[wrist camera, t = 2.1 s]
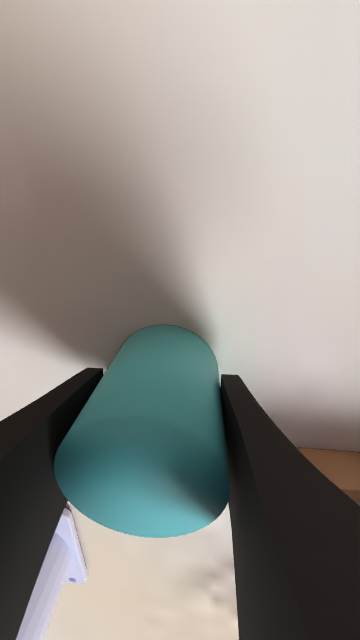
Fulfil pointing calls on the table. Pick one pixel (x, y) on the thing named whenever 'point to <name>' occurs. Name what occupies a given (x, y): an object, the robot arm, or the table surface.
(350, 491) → the tower bottom
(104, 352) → the table surface
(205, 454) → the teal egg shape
